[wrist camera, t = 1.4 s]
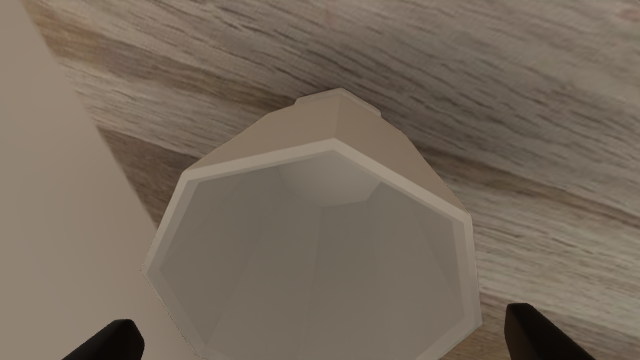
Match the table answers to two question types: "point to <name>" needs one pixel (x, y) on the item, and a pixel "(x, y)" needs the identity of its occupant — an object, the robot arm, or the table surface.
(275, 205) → the cup
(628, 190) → the table surface
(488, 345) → the table surface
